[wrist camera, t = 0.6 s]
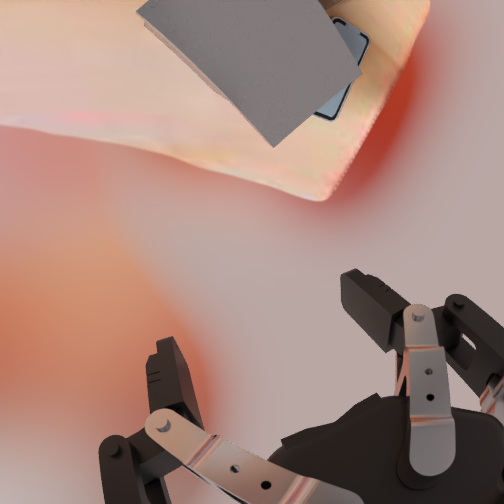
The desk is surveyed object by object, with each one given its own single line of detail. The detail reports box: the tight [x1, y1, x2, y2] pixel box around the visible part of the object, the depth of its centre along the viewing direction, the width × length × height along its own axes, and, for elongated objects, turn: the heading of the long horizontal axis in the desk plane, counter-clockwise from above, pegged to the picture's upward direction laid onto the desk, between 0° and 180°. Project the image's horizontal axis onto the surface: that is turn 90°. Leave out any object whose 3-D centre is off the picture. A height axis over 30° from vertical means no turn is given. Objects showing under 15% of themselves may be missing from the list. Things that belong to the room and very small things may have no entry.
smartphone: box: [312, 17, 370, 122], centre depth 34 cm, size 7×1×15 cm
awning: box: [136, 0, 362, 148], centre depth 20 cm, size 13×9×17 cm
